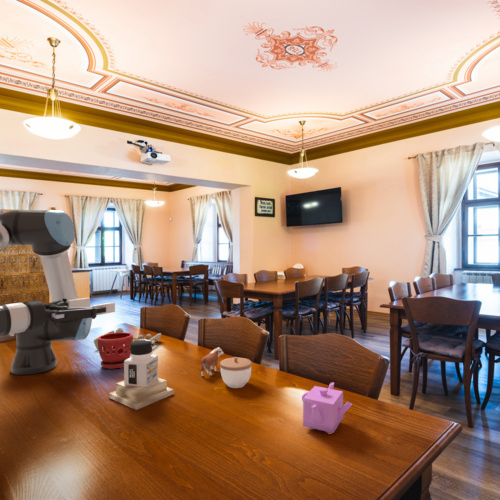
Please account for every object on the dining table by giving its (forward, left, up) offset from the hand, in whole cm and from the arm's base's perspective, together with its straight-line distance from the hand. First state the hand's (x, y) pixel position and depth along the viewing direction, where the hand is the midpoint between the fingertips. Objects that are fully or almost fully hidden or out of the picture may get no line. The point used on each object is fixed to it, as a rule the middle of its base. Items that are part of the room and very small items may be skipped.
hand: (101, 304), depth 110 cm
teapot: (+61, +27, -30) cm, 73 cm away
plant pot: (-27, +22, -30) cm, 46 cm away
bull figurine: (+9, +39, -30) cm, 50 cm away
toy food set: (-47, +42, -30) cm, 70 cm away
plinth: (+6, +10, -30) cm, 32 cm away
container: (+6, +10, -25) cm, 28 cm away
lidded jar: (+24, +35, -30) cm, 52 cm away
